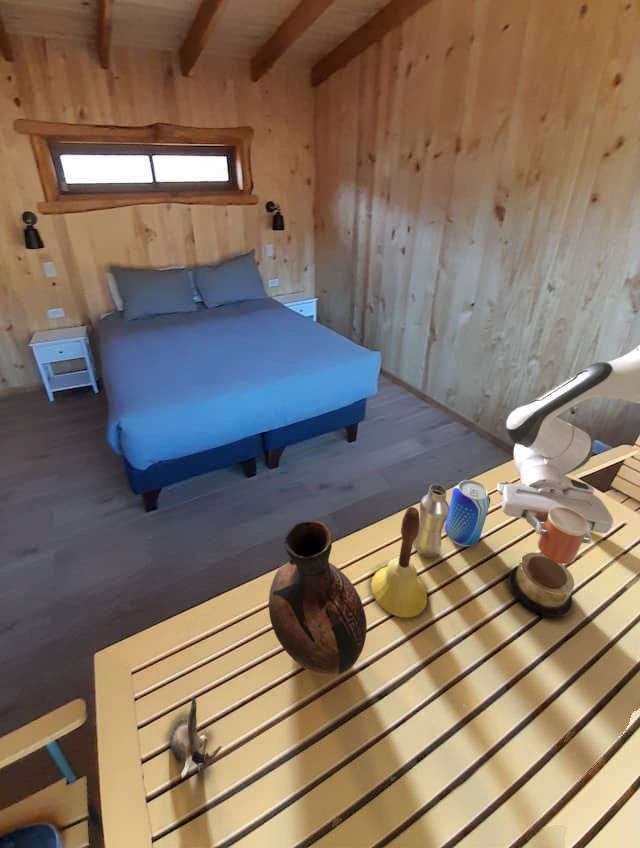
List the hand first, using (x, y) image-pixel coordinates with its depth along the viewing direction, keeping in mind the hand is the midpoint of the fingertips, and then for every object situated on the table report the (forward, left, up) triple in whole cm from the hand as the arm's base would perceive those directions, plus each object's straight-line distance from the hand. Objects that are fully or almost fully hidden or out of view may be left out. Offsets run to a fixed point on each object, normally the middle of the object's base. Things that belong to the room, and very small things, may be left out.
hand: (564, 536), depth 81 cm
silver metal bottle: (+24, -6, -19) cm, 31 cm away
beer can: (+15, -13, -19) cm, 27 cm away
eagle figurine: (+62, +45, -19) cm, 79 cm away
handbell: (+30, +7, -19) cm, 36 cm away
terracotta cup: (0, -1, -5) cm, 5 cm away
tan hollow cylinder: (0, -1, -19) cm, 19 cm away
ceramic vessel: (+46, +23, -19) cm, 55 cm away
